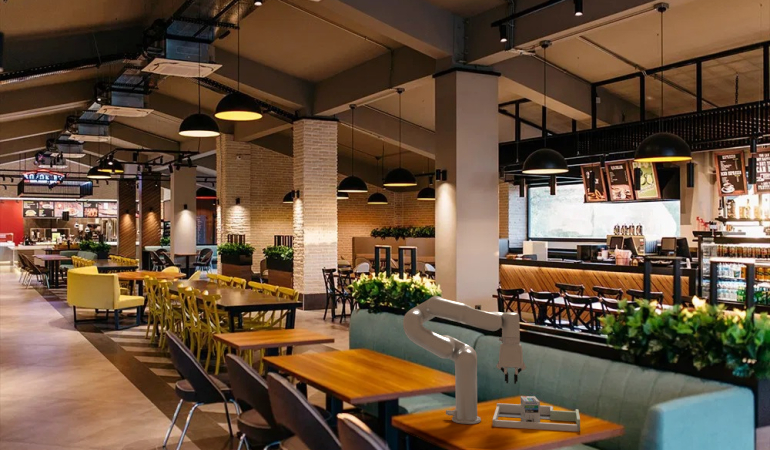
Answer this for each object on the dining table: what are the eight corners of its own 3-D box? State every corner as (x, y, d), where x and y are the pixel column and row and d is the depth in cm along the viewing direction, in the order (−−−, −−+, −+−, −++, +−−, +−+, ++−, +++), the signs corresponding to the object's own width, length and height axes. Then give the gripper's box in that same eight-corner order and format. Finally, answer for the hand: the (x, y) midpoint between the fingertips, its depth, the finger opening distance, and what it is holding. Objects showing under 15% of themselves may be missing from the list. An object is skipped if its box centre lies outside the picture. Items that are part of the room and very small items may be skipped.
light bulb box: (540, 426, 291) (540, 401, 291) (524, 426, 291) (524, 401, 291) (535, 420, 302) (535, 395, 302) (520, 420, 302) (520, 395, 302)
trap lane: (492, 426, 292) (492, 414, 292) (497, 411, 316) (497, 401, 316) (580, 431, 283) (580, 419, 283) (577, 416, 308) (577, 405, 308)
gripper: (491, 341, 298) (491, 383, 297) (529, 342, 294) (530, 385, 293) (492, 339, 305) (493, 380, 304) (530, 340, 301) (530, 382, 301)
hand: (511, 382), depth 299 cm, fingers closed
